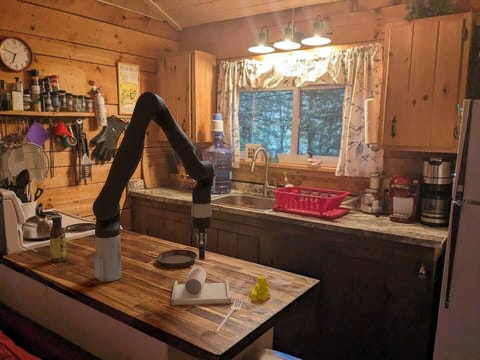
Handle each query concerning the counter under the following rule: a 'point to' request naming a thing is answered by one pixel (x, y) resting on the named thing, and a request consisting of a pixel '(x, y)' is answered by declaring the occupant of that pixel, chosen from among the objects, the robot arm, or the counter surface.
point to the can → (195, 280)
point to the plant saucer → (176, 258)
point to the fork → (231, 312)
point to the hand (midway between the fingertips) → (201, 259)
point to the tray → (202, 294)
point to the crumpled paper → (260, 290)
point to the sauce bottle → (57, 240)
